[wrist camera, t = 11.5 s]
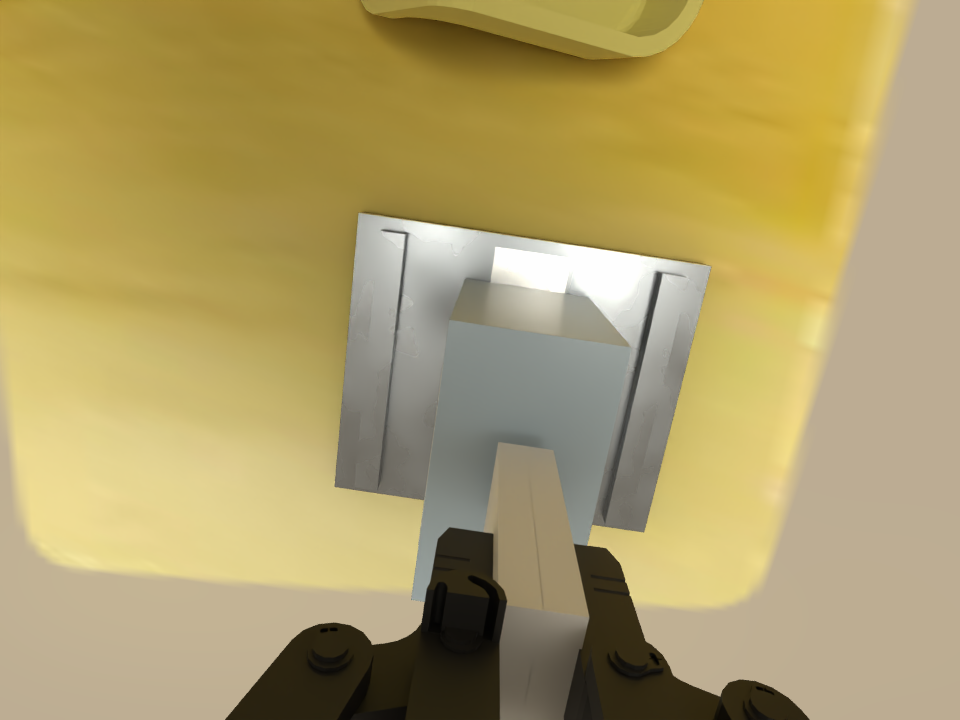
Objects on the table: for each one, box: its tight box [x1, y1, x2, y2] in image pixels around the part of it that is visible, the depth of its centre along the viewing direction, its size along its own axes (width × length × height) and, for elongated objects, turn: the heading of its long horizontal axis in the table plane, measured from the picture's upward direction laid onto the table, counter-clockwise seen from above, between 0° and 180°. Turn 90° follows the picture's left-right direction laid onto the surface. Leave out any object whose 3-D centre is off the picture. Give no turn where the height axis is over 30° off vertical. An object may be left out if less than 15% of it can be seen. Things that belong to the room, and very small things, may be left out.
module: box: [411, 278, 632, 602], centre depth 21 cm, size 9×5×8 cm, turn 172°
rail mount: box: [335, 212, 711, 532], centre depth 25 cm, size 12×14×2 cm
